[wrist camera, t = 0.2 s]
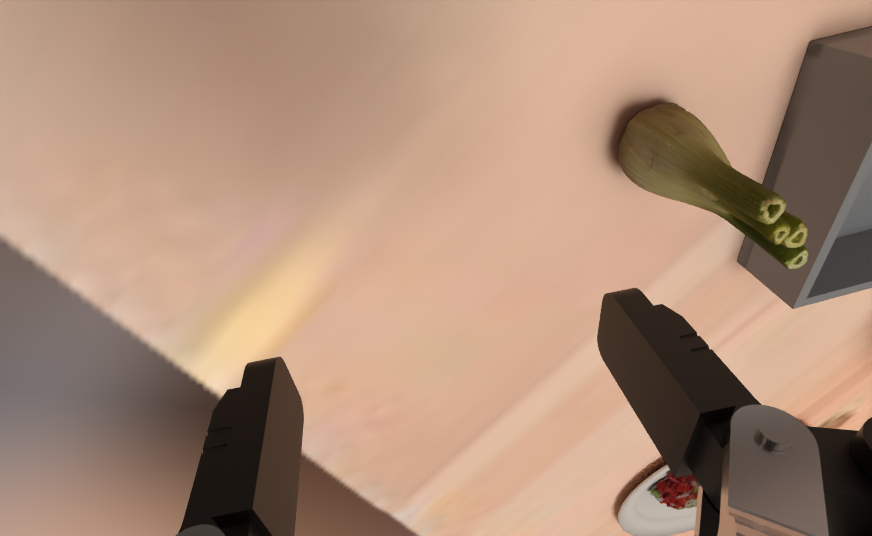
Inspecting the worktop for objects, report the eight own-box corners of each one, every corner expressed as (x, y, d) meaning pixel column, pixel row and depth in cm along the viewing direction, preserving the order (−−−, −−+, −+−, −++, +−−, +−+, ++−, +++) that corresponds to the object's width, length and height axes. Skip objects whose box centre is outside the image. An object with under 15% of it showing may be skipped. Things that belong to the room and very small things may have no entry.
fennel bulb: (678, 162, 32) (825, 267, 22) (610, 188, 32) (728, 303, 23) (682, 81, 28) (859, 166, 19) (605, 111, 28) (743, 209, 19)
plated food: (775, 492, 78) (790, 512, 75) (607, 541, 77) (617, 564, 74) (842, 389, 59) (866, 411, 56) (620, 453, 58) (634, 479, 55)
